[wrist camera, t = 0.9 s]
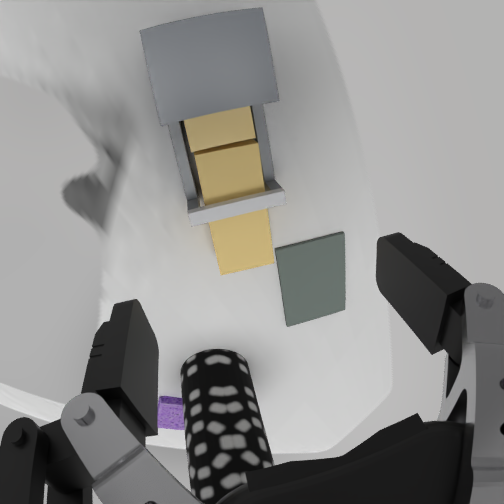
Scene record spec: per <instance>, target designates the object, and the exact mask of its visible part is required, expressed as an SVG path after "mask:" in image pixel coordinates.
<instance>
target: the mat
mask: <svg viewBox="0 0 504 504" xmlns="http://www.w3.org/2000/svg"><path fill="white" fill-rule="evenodd" d="M275 253H276V259H277V266H278V272H279V279H280V285H281V292H282V299H283V305H284V312H285V319H286V325H287V327H289V326H293V325H296V324H300V323H303V322H306V321H310V320H313V319H317V318H320V317H323V316H327V315H330V314H333V313H336V312H339V311H343V310H345V233H344V232H339V233H335V234H331V235H327V236H324V237H320V238H316V239H312V240H308V241H304V242H300V243H296V244H292V245H288V246H284V247H280V248H276V249H275Z"/></svg>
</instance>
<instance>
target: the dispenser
mask: <svg viewBox="0 0 504 504" xmlns="http://www.w3.org/2000/svg"><path fill="white" fill-rule="evenodd" d="M140 34H141V39H142V44H143V49H144V54H145V59H146V63H147V68H148V73H149V77H150V82H151V86H152V91H153V95H154V99H155V104H156V108H157V112H158V116H159V120H160V124H161V126H164V125H167V124H168V127H169V131H170V135H171V139H172V143H173V147H174V151H175V155H176V159H177V163H178V167H179V171H180V175H181V179H182V182H183V186H184V190H185V194H186V197H187V206H188V217H189V220H190V224H191V227H193V226H197V225H201V224H205V223H208V222H212V221H217V220H221V219H225V218H229V217H233V216H237V215H241V214H245V213H249V212H254V211H258V210H262V209H266V208H271V207H275V206H279V205H284V204H287V203H286V196H285V191H284V189H283V188H282V187H281V186H280V185H279V184H278V183H277V182H276V180H275V177H274V170H273V164H272V158H271V152H270V145H269V139H268V133H267V127H266V121H265V115H264V110H263V104H264V103H270V102H276V101H279V95H278V89H277V83H276V77H275V72H274V66H273V60H272V55H271V49H270V44H269V38H268V33H267V28H266V23H265V18H264V13H263V8H252V9H243V10H235V11H228V12H221V13H215V14H209V15H204V16H198V17H193V18H188V19H184V20H179V21H175V22H171V23H166V24H162V25H158V26H155V27H151V28H147V29H144V30H140ZM183 120H184V124H185V128H186V133H187V137H188V141H189V145H190V150H191V152H195V151H199V150H203V149H207V148H211V147H216V146H220V145H224V144H229V143H234V142H238V141H243V140H248V139H254V140H255V141H256V142H258V145H259V152H260V159H261V166H262V173H263V180H264V188H265V192H261V193H257V194H252V195H248V196H244V197H239V198H235V199H231V200H227V201H223V202H219V203H215V204H210V205H206V206H202V207H200V202H199V197H198V193H197V189H196V185H195V181H194V177H193V173H192V169H191V165H190V160H189V156H188V152H187V148H186V144H185V140H184V135H183V131H182V127H181V123H180V121H183Z"/></svg>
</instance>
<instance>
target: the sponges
mask: <svg viewBox="0 0 504 504" xmlns="http://www.w3.org/2000/svg"><path fill="white" fill-rule="evenodd" d="M158 428H166V429H168V428H170V429H175V430H185V428H184V416H183V402H182V398H176V397H168V396H163V397H160V398H159V403H158Z"/></svg>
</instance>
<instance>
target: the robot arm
mask: <svg viewBox="0 0 504 504" xmlns="http://www.w3.org/2000/svg"><path fill="white" fill-rule="evenodd" d="M376 281H377V285H378V288H379V290H380V292H381V293H382V295H383V296H384V297H385V298H386V299H387V301H388V302H389V303H390V304H391V305H392V306H393V308H394V309H395V310H396V311H397V312H398V314H399V315H400V316H401V317H402V318H403V320H404V321H405V322H406V323H407V324H408V326H409V327H410V328H411V329H412V331H413V332H414V333H415V334H416V336H417V337H418V338H419V339H420V341H421V342H422V343H423V344H424V346H425V347H426V348H427V349H428V351H429V352H430V353H431V354H432V355H433V354H435V353H437V352H439V351H440V350H443V349H445V350H446V352H447V355H446V358H445V369H444V382H443V394H442V403H441V409H440V413H439V416H438V419H437V421H430V422H423V421H422V420H421V418H420V416H419V415H418V413H416V414H414V415H412V416H411V417H408V418H406V419H404V420H402V421H400V422H397V423H395V424H393V425H391V426H388V427H386V428H384V429H382V430H380V431H378V432H377V433H375V434H374V435H373V436H371V437H370V438H368V439H367V440H366V441H364V442H363V443H361V444H360V445H358V446H357V447H355V448H354V449H352V450H351V451H349V452H348V453H346V454H345V455H343V456H340V457H336V458H326V459H316V460H304V461H290V462H286V463H282V464H279V465H275V466H271V467H267V468H262V469H258V470H254V471H249V472H245V475H246V480H247V483H246V484H244V485H241V486H239V487H238V488H236V489H234V490H233V491H231V492H229V493H228V494H227V495H225V496H224V497H223V498H221V499H220V500H219V501H218V502H217V503H216V504H504V294H503V293H502V292H501V290H499V289H498V288H497V287H495V286H493V285H490V284H486V283H475V284H471V283H470V282H469V281H467V280H466V279H465V278H464V277H463V276H462V275H460V274H459V273H458V272H457V271H456V270H454V269H453V268H452V267H451V266H450V265H448V264H446V263H445V261H444V260H442V259H441V258H440V257H438V256H437V255H436V254H435V253H434V252H432V251H431V250H430V249H429V248H427V247H425V246H422V245H420V244H417V243H413V242H412V241H410V240H409V239H408V238H407V237H405V236H404V235H403V234H401V233H399V232H398V233H394V234H391V235H387V236H383V237H380V238H379V239H378V241H377V260H376ZM92 347H93V348H92V349H91V353H90V359H89V361H88V365H87V369H86V373H85V378H84V382H83V387H82V392H81V394H80V395H78V396H76V397H74V398H73V399H71V400H70V401H69V402H68V403H67V404H66V406H65V407H64V409H63V411H62V414H61V419H59V420H57V421H54V422H51V423H49V424H46V425H44V426H41V427H39V426H38V425H37V424H36V423H35V422H34V421H33V420H31V419H30V418H26V417H23V418H19V419H16V420H14V421H13V422H11V424H9V425H8V427H7V428H6V430H5V431H4V434H3V437H2V441H1V446H0V504H43V500H44V485H45V484H47V485H48V492H47V504H92V488H93V490H94V492H95V493H96V495H97V496H98V498H99V499H100V500H101V502H102V503H103V504H204V503H202V502H201V501H200V500H199V499H198V498H197V497H195V496H194V495H193V494H192V493H191V492H190V491H189V490H188V489H186V488H185V487H184V486H183V485H182V484H181V483H180V482H179V481H178V480H177V479H176V478H175V477H174V476H173V475H172V474H170V473H169V471H168V470H166V468H164V466H163V465H162V464H161V463H160V462H159V461H158V460H157V459H156V458H155V457H154V456H153V455H152V454H151V453H150V452H149V451H148V450H147V449H146V448H145V437H147V436H155V435H158V359H159V349H158V344H157V340H156V337H155V334H154V332H153V330H152V328H151V326H150V324H149V322H148V319H147V317H146V315H145V313H144V311H143V309H142V306H141V304H140V302H139V301H138V300H137V299H133V300H129V301H125V302H121V303H117V304H114V306H113V310H112V314H111V318H110V321H107V322H104V323H103V324H102V325H101V327H100V328H99V330H98V331H97V332H96V334H95V337H94V341H93V345H92Z"/></svg>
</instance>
